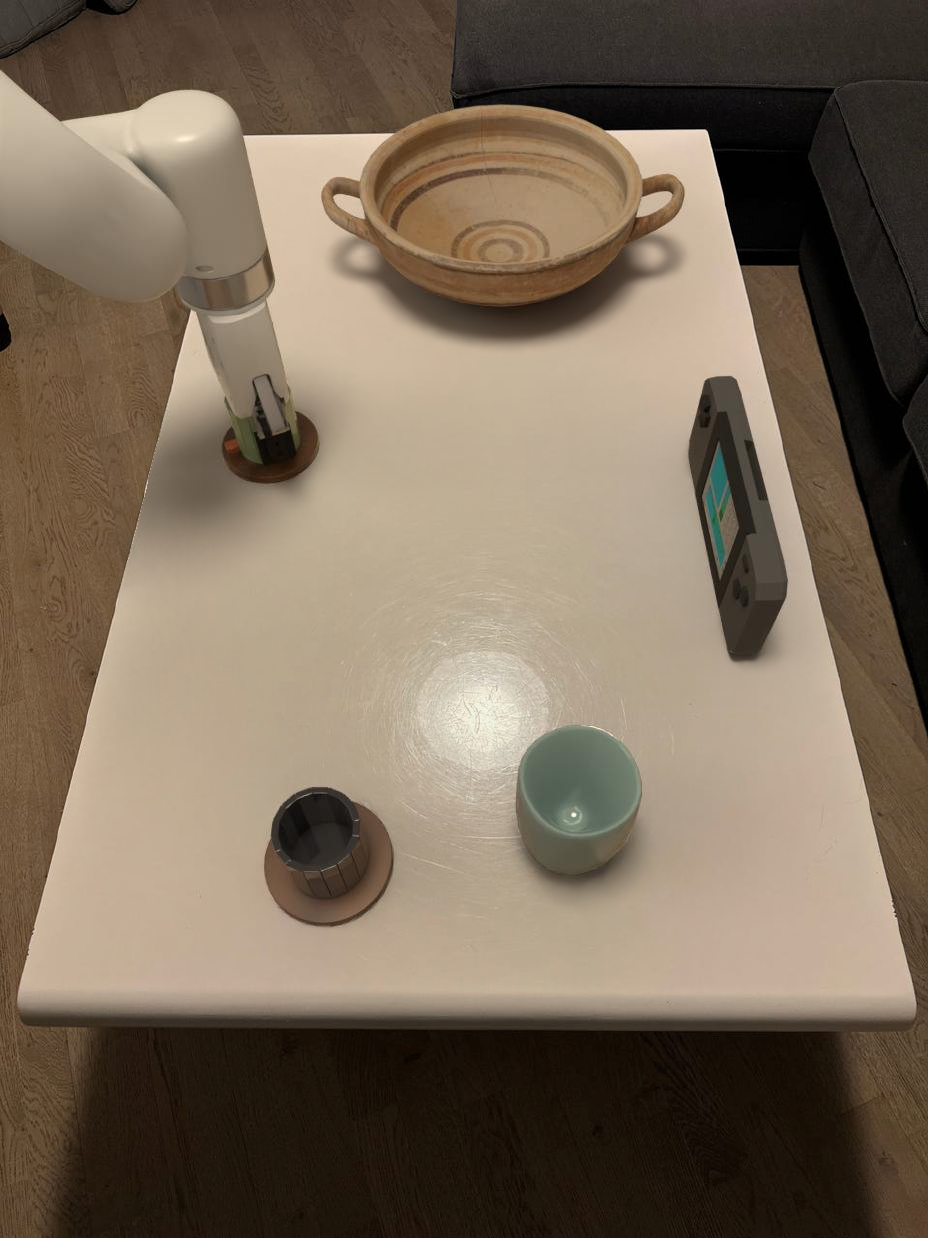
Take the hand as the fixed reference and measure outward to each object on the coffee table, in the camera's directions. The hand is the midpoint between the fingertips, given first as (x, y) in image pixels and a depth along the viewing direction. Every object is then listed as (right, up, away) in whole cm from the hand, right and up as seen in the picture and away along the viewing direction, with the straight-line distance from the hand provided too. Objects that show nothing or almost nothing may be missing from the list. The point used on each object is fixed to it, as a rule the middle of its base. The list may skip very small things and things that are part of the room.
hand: (268, 434), depth 87 cm
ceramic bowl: (+22, +22, +16) cm, 35 cm away
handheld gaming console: (+40, -11, -6) cm, 42 cm away
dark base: (+9, -34, -21) cm, 41 cm away
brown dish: (0, -1, +1) cm, 2 cm away
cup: (+26, -33, -20) cm, 46 cm away
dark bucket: (+9, -34, -21) cm, 41 cm away
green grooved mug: (0, -1, +1) cm, 2 cm away
